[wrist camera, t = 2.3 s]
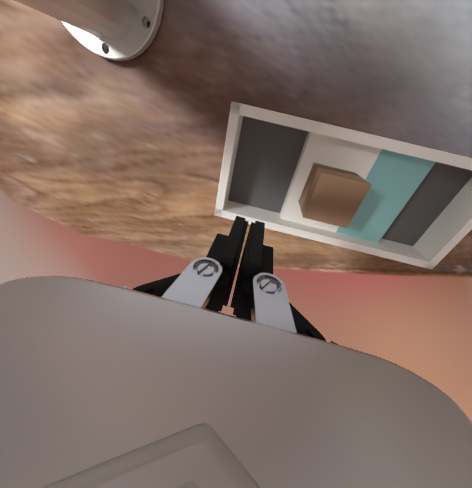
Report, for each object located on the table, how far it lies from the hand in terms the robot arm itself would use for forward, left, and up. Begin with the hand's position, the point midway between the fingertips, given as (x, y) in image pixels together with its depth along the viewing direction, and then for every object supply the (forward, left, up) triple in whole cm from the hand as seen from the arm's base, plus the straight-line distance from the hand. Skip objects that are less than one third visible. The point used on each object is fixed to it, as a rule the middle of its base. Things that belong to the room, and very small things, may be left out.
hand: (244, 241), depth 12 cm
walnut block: (0, +8, -17) cm, 19 cm away
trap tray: (0, +10, -19) cm, 21 cm away
